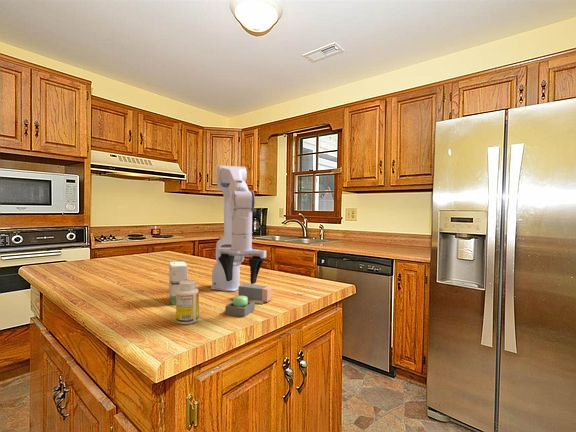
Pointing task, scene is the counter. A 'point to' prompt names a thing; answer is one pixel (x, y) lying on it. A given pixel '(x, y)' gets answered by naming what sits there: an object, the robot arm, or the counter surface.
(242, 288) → the grey rectangular block
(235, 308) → the button housing
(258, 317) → the counter surface
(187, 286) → the supplement bottle
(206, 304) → the counter surface
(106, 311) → the counter surface
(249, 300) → the sheet
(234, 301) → the button
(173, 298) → the ink box
